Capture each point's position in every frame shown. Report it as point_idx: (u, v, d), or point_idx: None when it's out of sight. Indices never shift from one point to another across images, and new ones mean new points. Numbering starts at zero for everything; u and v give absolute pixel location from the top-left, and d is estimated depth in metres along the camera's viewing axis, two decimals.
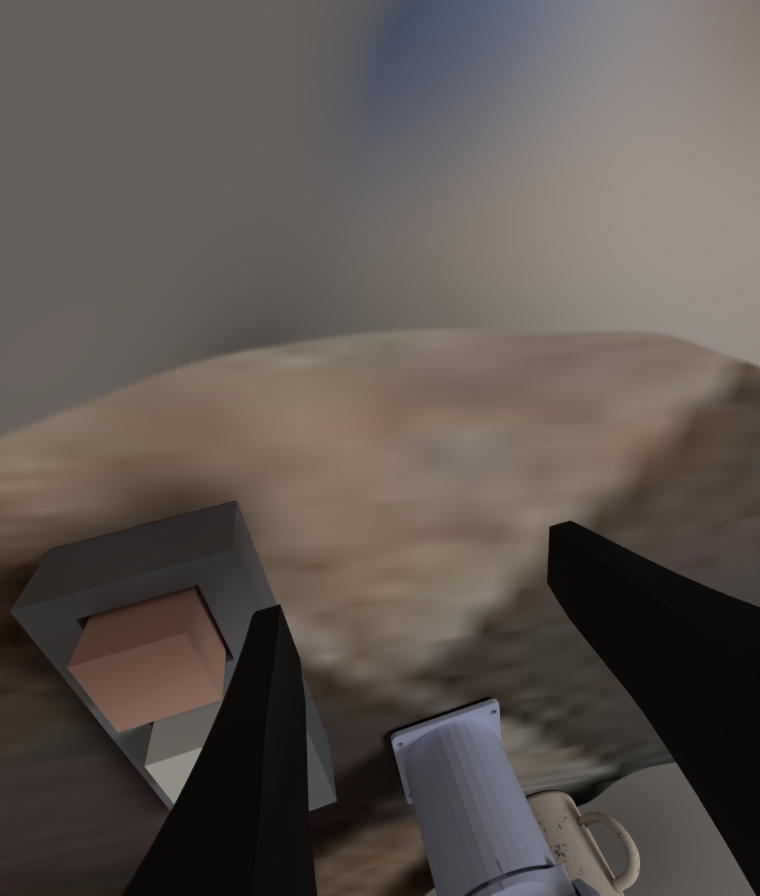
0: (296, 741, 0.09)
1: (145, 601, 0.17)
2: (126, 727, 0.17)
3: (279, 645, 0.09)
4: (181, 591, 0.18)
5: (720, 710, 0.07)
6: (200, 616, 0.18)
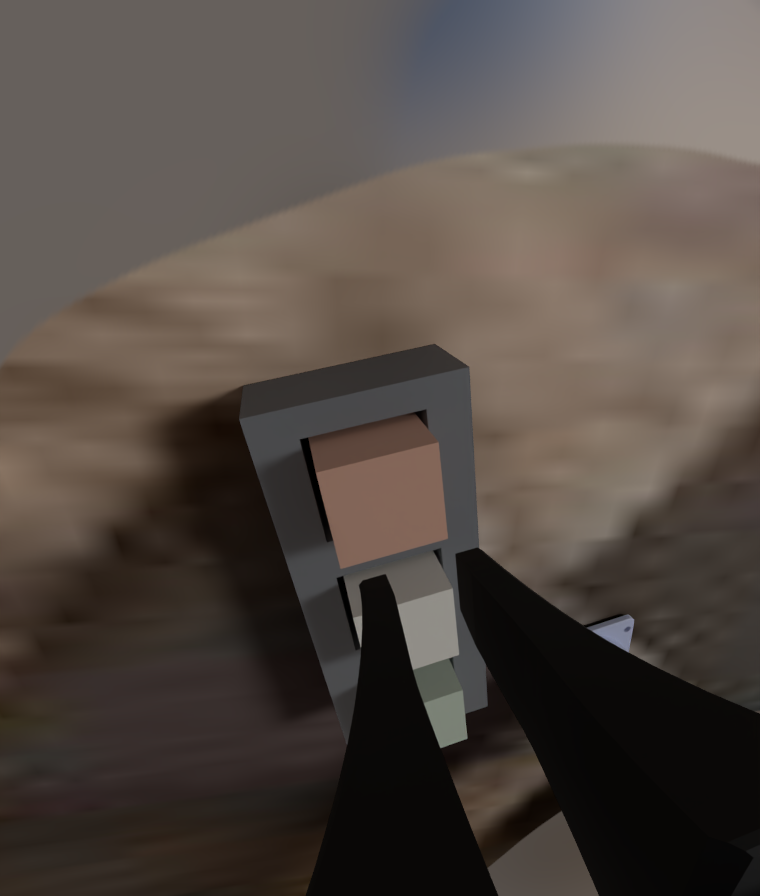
0: None
1: (367, 427, 0.16)
2: (350, 563, 0.15)
3: (397, 609, 0.10)
4: (404, 419, 0.16)
5: (581, 761, 0.07)
6: None
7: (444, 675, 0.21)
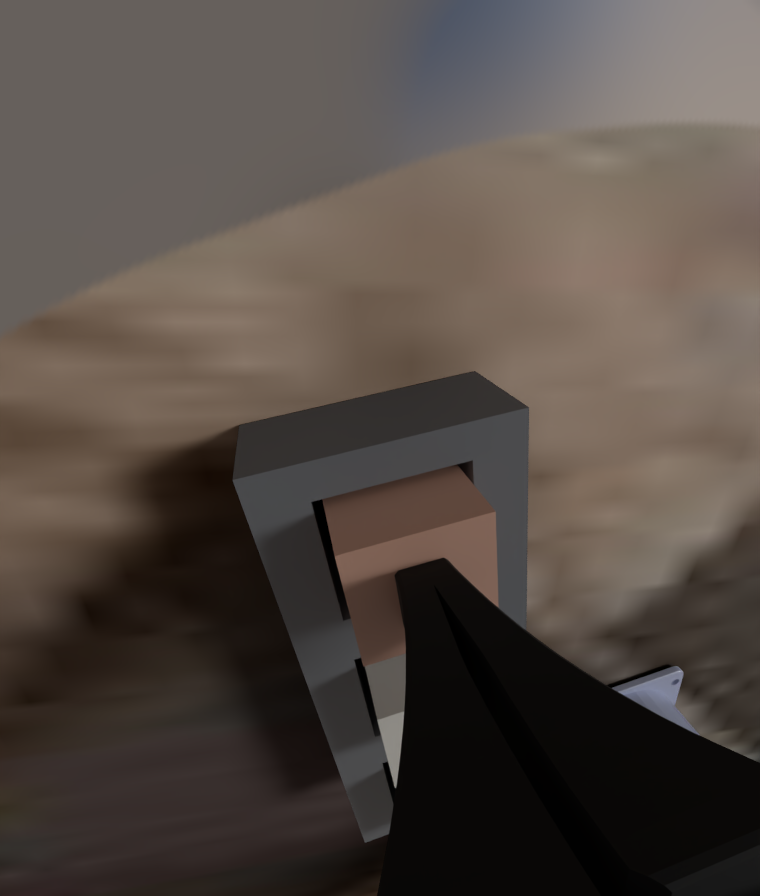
0: None
1: (396, 483, 0.12)
2: (375, 659, 0.12)
3: None
4: (443, 472, 0.13)
5: (530, 781, 0.07)
6: None
7: None
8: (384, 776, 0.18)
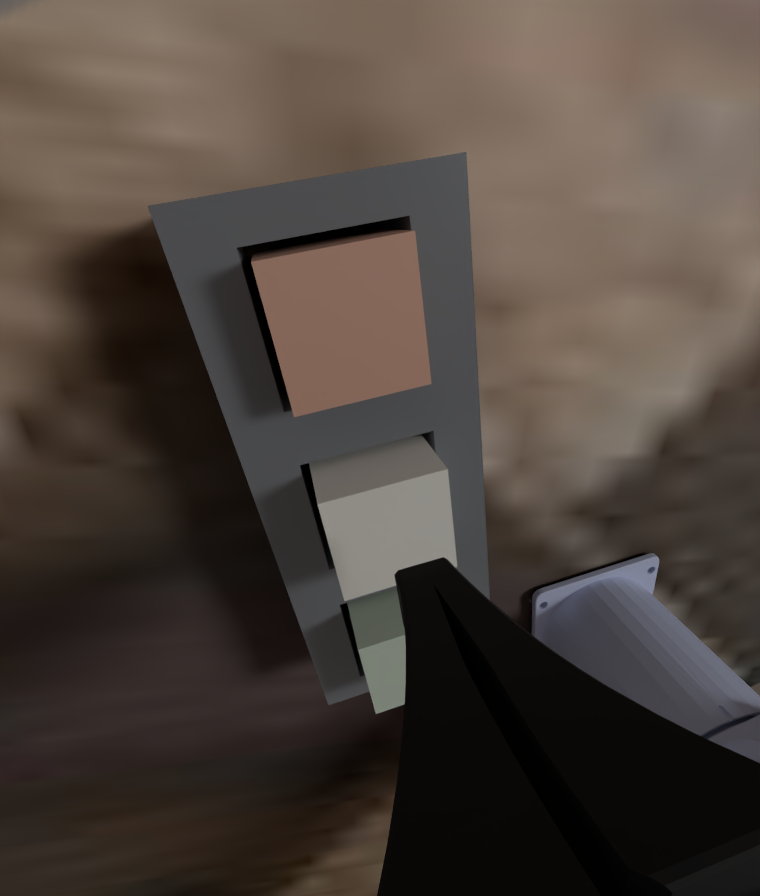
0: None
1: (327, 241, 0.12)
2: (306, 410, 0.12)
3: None
4: (374, 233, 0.13)
5: (530, 781, 0.07)
6: None
7: None
8: (343, 622, 0.18)
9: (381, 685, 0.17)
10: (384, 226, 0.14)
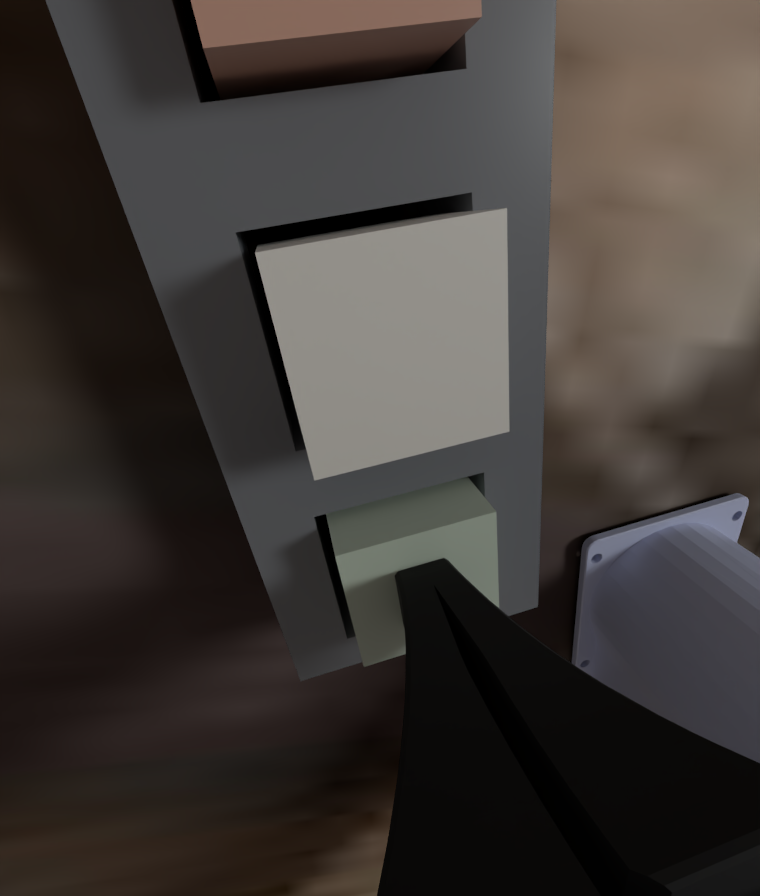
0: None
1: None
2: (227, 33, 0.06)
3: None
4: None
5: (530, 781, 0.07)
6: None
7: (459, 496, 0.11)
8: (320, 547, 0.12)
9: (372, 621, 0.11)
10: None
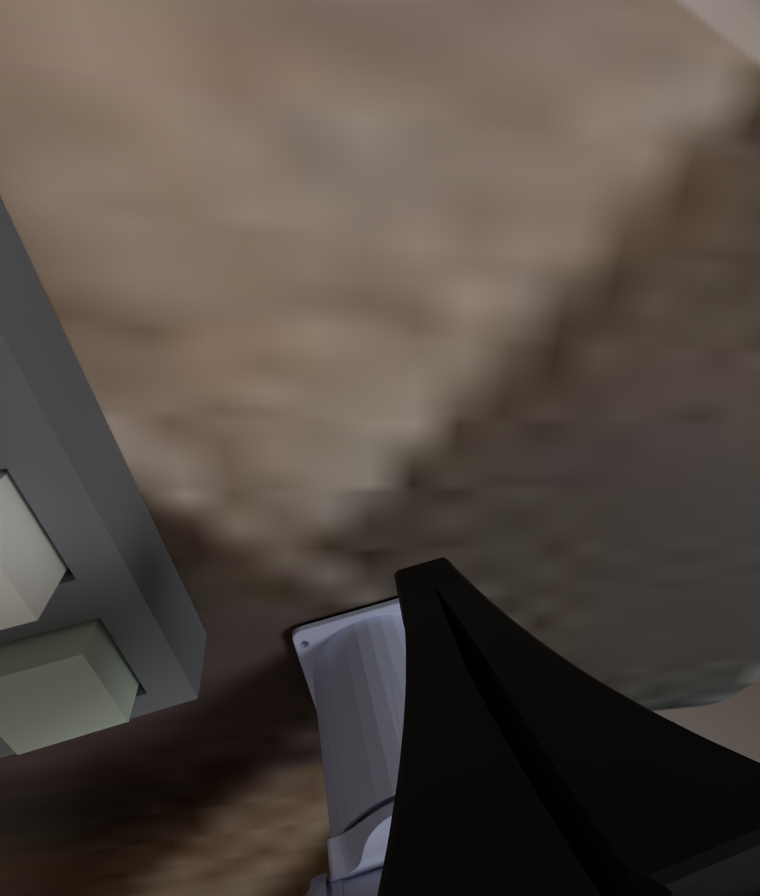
0: None
1: None
2: None
3: None
4: None
5: (530, 781, 0.07)
6: None
7: (76, 636, 0.16)
8: None
9: (9, 725, 0.16)
10: None
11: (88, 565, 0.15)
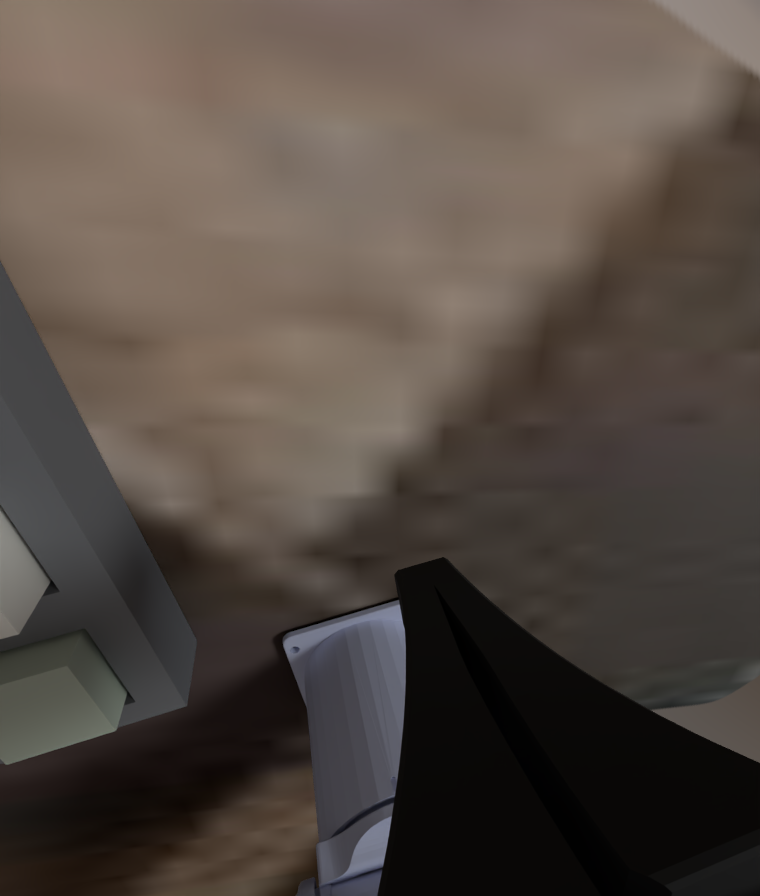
0: None
1: None
2: None
3: None
4: None
5: (530, 781, 0.07)
6: None
7: (61, 647, 0.16)
8: None
9: None
10: None
11: (71, 577, 0.15)
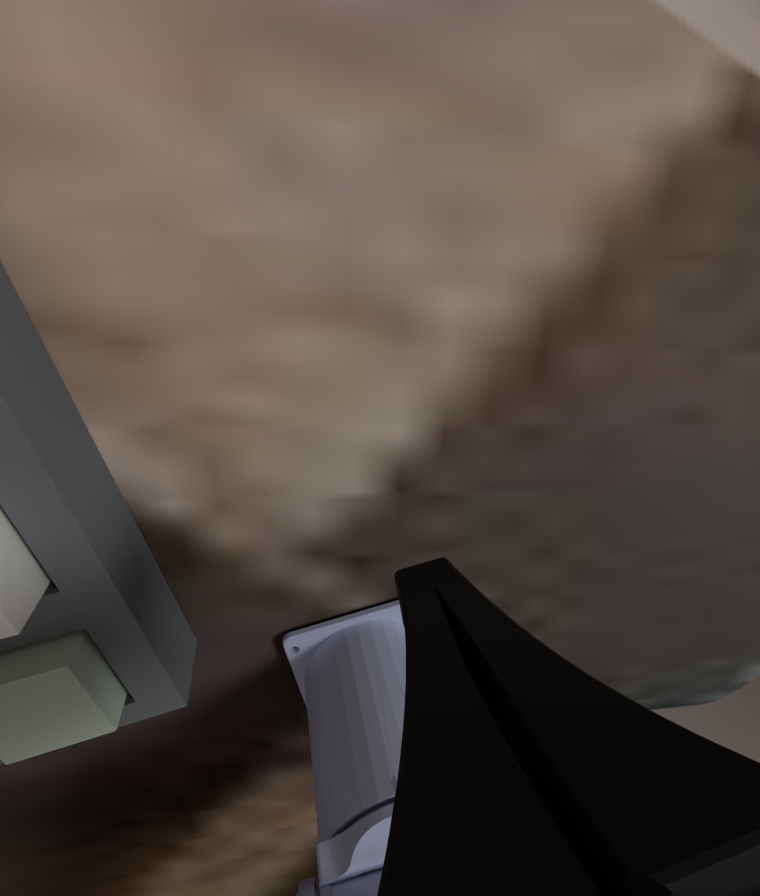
0: None
1: None
2: None
3: None
4: None
5: (530, 781, 0.07)
6: None
7: (61, 647, 0.16)
8: None
9: None
10: None
11: (71, 577, 0.15)
